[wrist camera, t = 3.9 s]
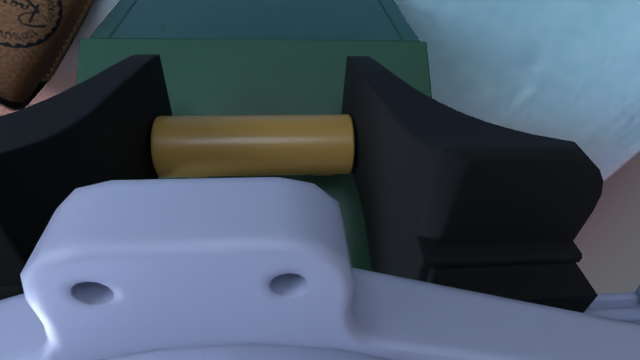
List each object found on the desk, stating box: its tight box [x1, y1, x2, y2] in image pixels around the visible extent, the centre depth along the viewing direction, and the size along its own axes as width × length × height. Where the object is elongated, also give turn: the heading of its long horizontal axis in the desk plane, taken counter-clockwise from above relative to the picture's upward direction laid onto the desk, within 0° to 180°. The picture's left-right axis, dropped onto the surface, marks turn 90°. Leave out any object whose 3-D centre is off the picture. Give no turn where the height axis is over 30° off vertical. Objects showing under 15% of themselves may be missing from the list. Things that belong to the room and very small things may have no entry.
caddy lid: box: [76, 39, 432, 271], centre depth 12 cm, size 14×12×4 cm
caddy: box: [89, 0, 420, 42], centre depth 22 cm, size 13×12×6 cm
